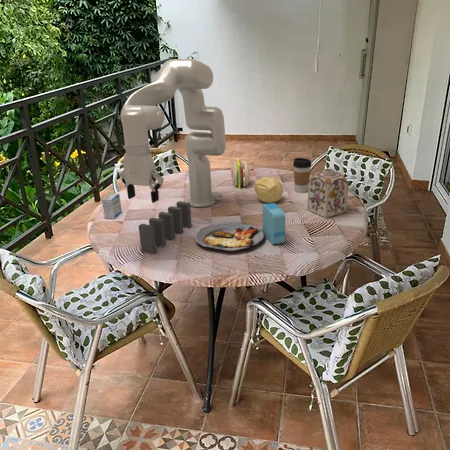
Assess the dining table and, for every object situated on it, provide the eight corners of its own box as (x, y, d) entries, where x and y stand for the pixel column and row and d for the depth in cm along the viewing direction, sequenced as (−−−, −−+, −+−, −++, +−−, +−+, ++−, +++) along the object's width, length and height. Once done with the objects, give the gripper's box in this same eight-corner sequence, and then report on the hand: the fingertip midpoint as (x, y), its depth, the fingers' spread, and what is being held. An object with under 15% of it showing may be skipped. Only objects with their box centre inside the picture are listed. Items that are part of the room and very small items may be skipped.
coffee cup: (297, 186, 218) (298, 156, 212) (313, 189, 213) (315, 158, 207) (289, 191, 212) (289, 160, 206) (305, 194, 207) (306, 163, 201)
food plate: (272, 231, 171) (272, 223, 169) (250, 259, 152) (250, 250, 150) (213, 224, 181) (213, 216, 179) (185, 249, 162) (184, 240, 160)
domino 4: (172, 230, 175) (170, 206, 171) (183, 232, 173) (181, 208, 169) (169, 232, 174) (167, 208, 170) (180, 234, 172) (178, 209, 168)
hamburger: (251, 188, 217) (251, 164, 213) (234, 189, 217) (233, 165, 212) (248, 181, 228) (248, 158, 224) (232, 181, 228) (232, 158, 223)
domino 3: (163, 236, 171) (161, 211, 167) (175, 238, 168) (172, 213, 164) (160, 238, 169) (158, 213, 165) (172, 240, 167) (169, 215, 163)
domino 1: (144, 249, 161) (141, 223, 157) (156, 251, 159) (153, 225, 155) (141, 251, 159) (138, 225, 155) (153, 254, 157) (150, 228, 153)
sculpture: (250, 200, 203) (250, 177, 198) (270, 194, 209) (270, 171, 205) (268, 207, 194) (268, 183, 190) (287, 200, 201) (288, 177, 197)
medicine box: (114, 219, 188) (111, 199, 184) (104, 218, 188) (101, 199, 185) (122, 212, 195) (119, 193, 191) (112, 211, 196) (109, 192, 192)
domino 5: (180, 224, 180) (179, 201, 176) (191, 226, 178) (190, 202, 174) (178, 226, 179) (176, 202, 175) (189, 228, 177) (187, 204, 172)
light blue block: (285, 244, 161) (285, 213, 156) (273, 246, 160) (273, 214, 155) (273, 231, 172) (274, 201, 167) (262, 232, 171) (262, 203, 166)
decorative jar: (347, 212, 186) (350, 170, 179) (326, 219, 181) (328, 175, 173) (326, 204, 196) (329, 163, 188) (306, 210, 190) (308, 168, 183)
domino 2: (154, 242, 166) (152, 217, 162) (166, 244, 164) (163, 219, 160) (151, 244, 164) (148, 219, 160) (162, 247, 162) (160, 221, 158)
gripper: (108, 150, 145) (116, 199, 152) (152, 155, 138) (158, 207, 145) (123, 144, 151) (129, 192, 158) (166, 149, 144) (171, 199, 151)
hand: (143, 199), depth 151 cm, fingers open, 9 cm apart
